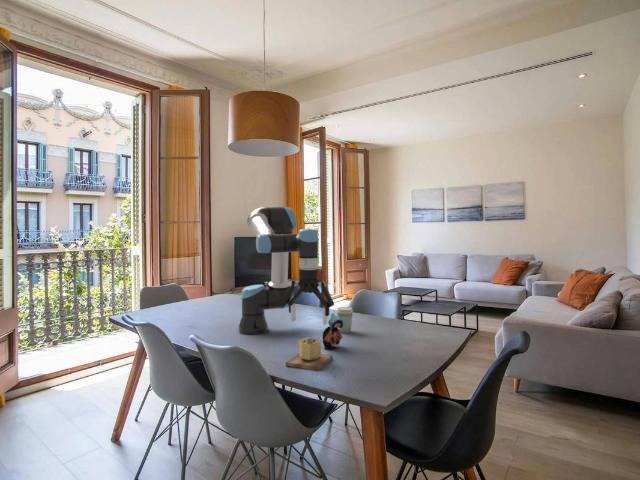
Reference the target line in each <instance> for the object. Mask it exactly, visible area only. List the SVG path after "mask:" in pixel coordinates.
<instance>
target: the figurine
mask: <svg viewBox="0 0 640 480" xmlns="http://www.w3.org/2000/svg"><path fill="white" fill-rule="evenodd" d="M327 324H328V325H329V326H327V327H326V328H325V329H324V330H323V332H322V343H323V347H324V348H323V350H325V351H331V350H336V349H337V348H339V345H340V342H341V341H340V340H342V339H343V333H341V332H340V330H339V328H342V327H343V320H342V319H340V318H338V316H337V315H335V313H331V314H330V318H329V320H327Z"/></svg>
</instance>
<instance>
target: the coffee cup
mask: <svg viewBox="0 0 640 480" xmlns="http://www.w3.org/2000/svg"><path fill="white" fill-rule="evenodd" d="M353 313H354V310H353V308H352V307H350V306H341V307H337V309H336V314H337V315H336V316H337V317H338V318H340V319H342V320H343V327H342V328H338V329H339V330H340V332H341V334H349V333H351V332H352V325H353V323H352V322H353V315H354V314H353Z"/></svg>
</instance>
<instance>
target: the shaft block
mask: <svg viewBox="0 0 640 480" xmlns="http://www.w3.org/2000/svg"><path fill="white" fill-rule="evenodd" d="M305 338H306V342H308V343H311V342H313V338H314V337H312V336H311V337H310V336H308V337H305ZM332 359H333V354H330V353H329V354H328V353H321V356H320V357H319V358H318V359H311V360H308V359H302V358H300V357H299V352H298V353H296V354H295V355H293V356H292V357H291V358H290V359H288V360H287V361H286V362H285V367H287V366H291V367H290V368H295V367H297V369H302V368H303V369H304V370H310V369H312V371H318V370H319V371H318V372H320V371H322V369H324V368H325V367H326V366H327V364H328V363H330V361H332Z"/></svg>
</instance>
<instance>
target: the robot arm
mask: <svg viewBox="0 0 640 480" xmlns="http://www.w3.org/2000/svg"><path fill="white" fill-rule="evenodd" d="M246 223H247V226H248V228H249V230H250V231H252V232H254V234H255V237H256V239H255V248H256V251H257V253H259V254H271V275H270V276H271V278H270V281H269V282H268V286H266V287H265V285H264V284H254V285H249V286H245V287H243V289H242V290H241V297H240V298H241V319H240V321H239V325H238V332H239V334H243V335H258V334H262V333H266V332H267V331H269V325H268V321H267V319H266V316H265V315H266V314H265V310H266V311H267V310H278V309H281V310H283V309H286V308H288V313H289V314H290V322H291V323H293V322H295V321H296V303H295V302H296V301H297V300H298V299H299V297H300V296H301V295H302V293H305V294H306V293H309V294H312V293H313V294H314V295H315V297H316V298H317V299H318V300H319V301H320V302H321V303H320V304H322V306H323V308H322V324H323V325H322V326H325V325H328V317H329V316H330V315H331V314H330V308H331V307H333V306H335V301H334V299H333V298H332V296H331V294H330V292H329V289H328V287H327V281H321V282H320V281H319V270H318V268H319V232H318V230H317V229H314V228H312V229H309V228H308V229H305V228H304V229H299V230H298V233H293V231H294V230H296V229H297V218H296V214H295V211H294V209H293V208H292V207H288V206H287V207H286V206H269V207H268V206H262V207H258V208H256V209H254V210H253V211H251V212H250V213H249V215H248V217H247V221H246ZM289 253H298V267H299V270H298V278H299V279H298V280H296V279H293V280H292V281H291V283H290V282H289V280H288V279H289V278H288V277H289V276H288V275H289ZM298 286H299V289H298V290H297V292H295V290H296V288H297V287H298ZM319 287H320V288H321V291H322V292H323V294H322V292H321V291H320V288H319ZM294 292H295V294H294Z"/></svg>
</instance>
